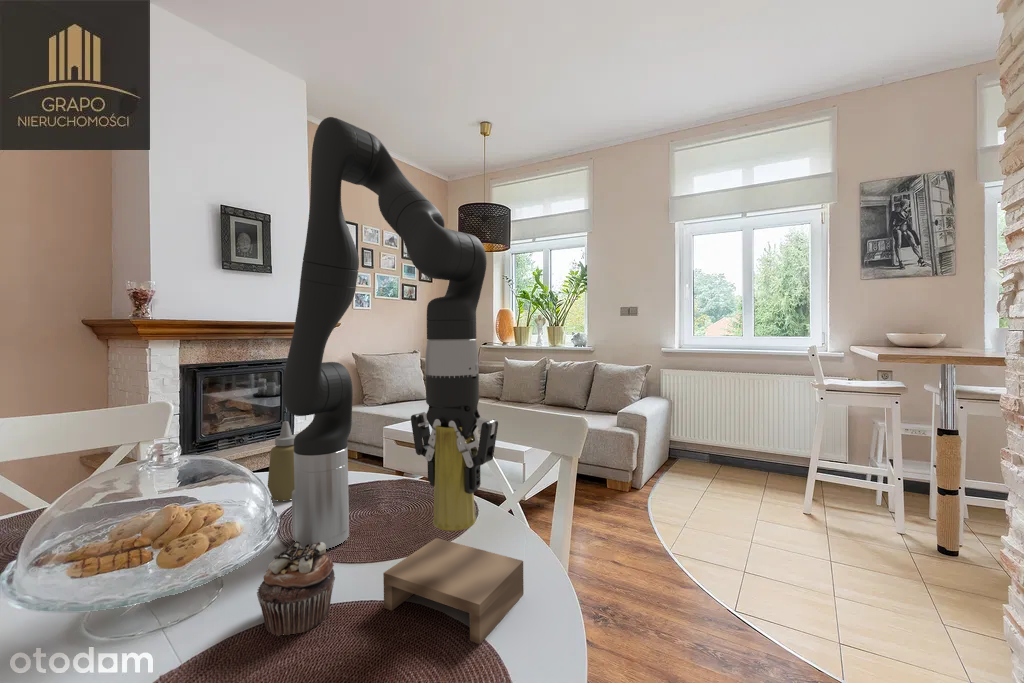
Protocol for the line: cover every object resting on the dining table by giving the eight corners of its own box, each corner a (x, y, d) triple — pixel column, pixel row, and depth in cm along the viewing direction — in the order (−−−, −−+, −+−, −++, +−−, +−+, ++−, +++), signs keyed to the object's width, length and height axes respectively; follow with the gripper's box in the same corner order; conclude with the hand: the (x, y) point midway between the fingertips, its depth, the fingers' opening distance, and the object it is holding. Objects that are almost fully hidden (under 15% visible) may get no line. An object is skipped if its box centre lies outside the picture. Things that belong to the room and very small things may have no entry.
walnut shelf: (383, 607, 64) (383, 572, 63) (436, 568, 74) (436, 537, 74) (479, 644, 56) (479, 604, 56) (523, 594, 67) (523, 560, 66)
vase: (468, 533, 61) (467, 429, 61) (426, 529, 63) (424, 427, 62) (480, 515, 67) (479, 420, 67) (441, 512, 68) (440, 419, 68)
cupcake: (341, 593, 67) (340, 526, 67) (326, 636, 58) (325, 559, 57) (272, 600, 66) (271, 532, 65) (245, 646, 56) (243, 566, 56)
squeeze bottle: (259, 503, 103) (257, 424, 102) (283, 490, 111) (281, 418, 110) (291, 505, 102) (290, 425, 101) (313, 492, 110) (311, 418, 109)
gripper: (395, 371, 64) (397, 488, 65) (480, 375, 58) (482, 506, 58) (429, 367, 71) (430, 474, 71) (509, 370, 64) (510, 488, 65)
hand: (453, 487), depth 65 cm, fingers closed on vase, 5 cm apart
